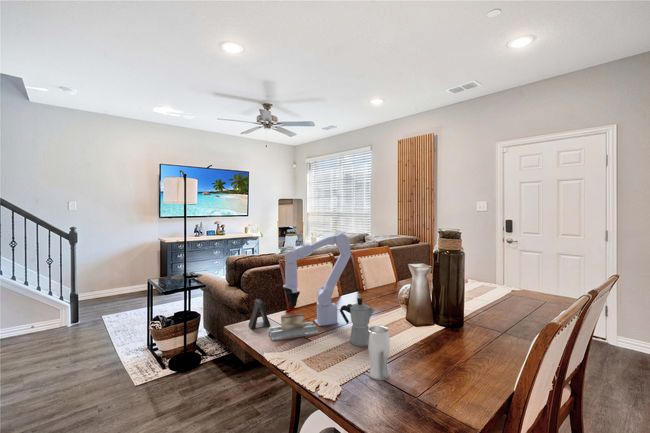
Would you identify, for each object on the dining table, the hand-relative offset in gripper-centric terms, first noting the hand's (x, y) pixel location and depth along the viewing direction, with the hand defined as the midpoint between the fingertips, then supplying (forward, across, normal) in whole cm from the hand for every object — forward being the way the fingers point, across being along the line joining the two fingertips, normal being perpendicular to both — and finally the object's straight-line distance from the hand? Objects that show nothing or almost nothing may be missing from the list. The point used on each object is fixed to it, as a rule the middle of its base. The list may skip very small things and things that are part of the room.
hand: (291, 304), depth 143 cm
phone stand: (+10, -3, -15) cm, 18 cm away
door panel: (+8, +11, -2) cm, 14 cm away
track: (+9, +11, -2) cm, 15 cm away
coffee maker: (+10, +29, +21) cm, 37 cm away
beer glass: (+10, +54, +17) cm, 57 cm away
